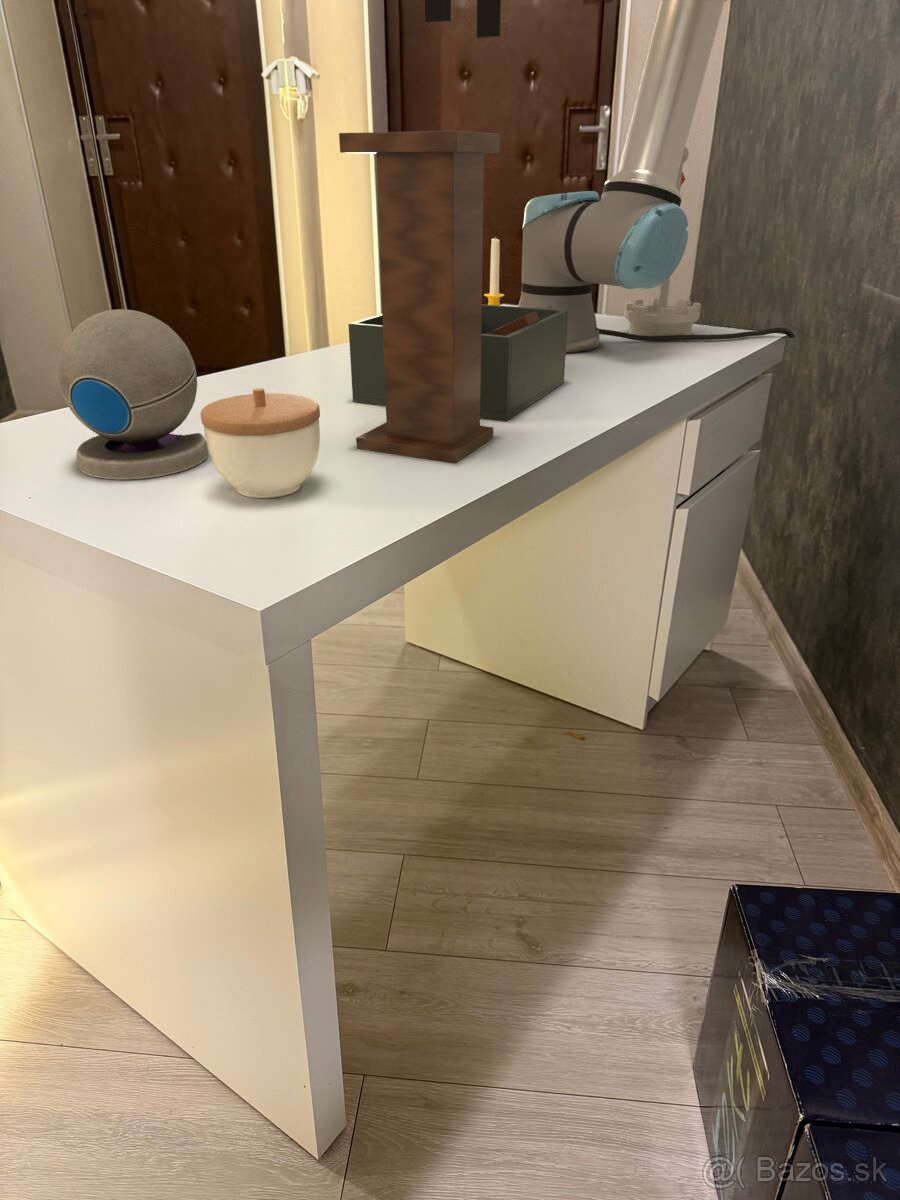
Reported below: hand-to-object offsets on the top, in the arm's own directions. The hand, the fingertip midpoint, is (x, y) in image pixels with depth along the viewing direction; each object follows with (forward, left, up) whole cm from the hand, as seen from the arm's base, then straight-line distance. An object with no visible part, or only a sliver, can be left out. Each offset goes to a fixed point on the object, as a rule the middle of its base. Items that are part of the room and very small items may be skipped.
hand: (464, 30), depth 93 cm
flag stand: (-53, -16, -41) cm, 69 cm away
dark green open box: (0, 0, -41) cm, 41 cm away
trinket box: (+36, +21, -41) cm, 58 cm away
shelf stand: (+16, +17, -41) cm, 47 cm away
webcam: (+44, +6, -41) cm, 60 cm away
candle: (-34, -41, -41) cm, 67 cm away
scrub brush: (-1, +2, -34) cm, 34 cm away
